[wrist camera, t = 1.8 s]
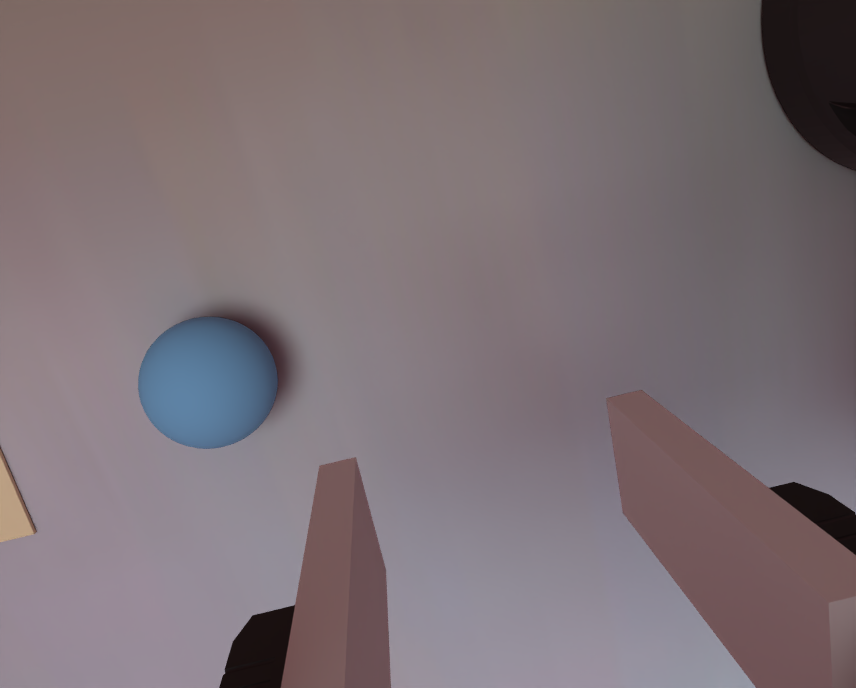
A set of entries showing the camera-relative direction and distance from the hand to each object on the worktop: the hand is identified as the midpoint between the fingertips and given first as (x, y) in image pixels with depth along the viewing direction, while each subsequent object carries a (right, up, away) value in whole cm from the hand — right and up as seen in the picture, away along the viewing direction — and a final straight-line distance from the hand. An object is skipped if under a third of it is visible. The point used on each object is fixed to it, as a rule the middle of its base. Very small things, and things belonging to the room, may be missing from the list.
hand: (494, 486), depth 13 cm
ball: (-11, +1, +13) cm, 17 cm away
